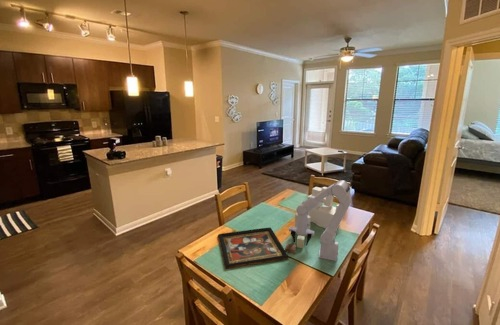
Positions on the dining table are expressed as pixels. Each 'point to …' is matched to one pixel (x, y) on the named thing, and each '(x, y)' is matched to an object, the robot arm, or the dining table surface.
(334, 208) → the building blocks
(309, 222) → the supplement box
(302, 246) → the sage block
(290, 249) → the walnut base
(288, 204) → the dining table surface
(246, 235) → the framed icon painting
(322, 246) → the robot arm
